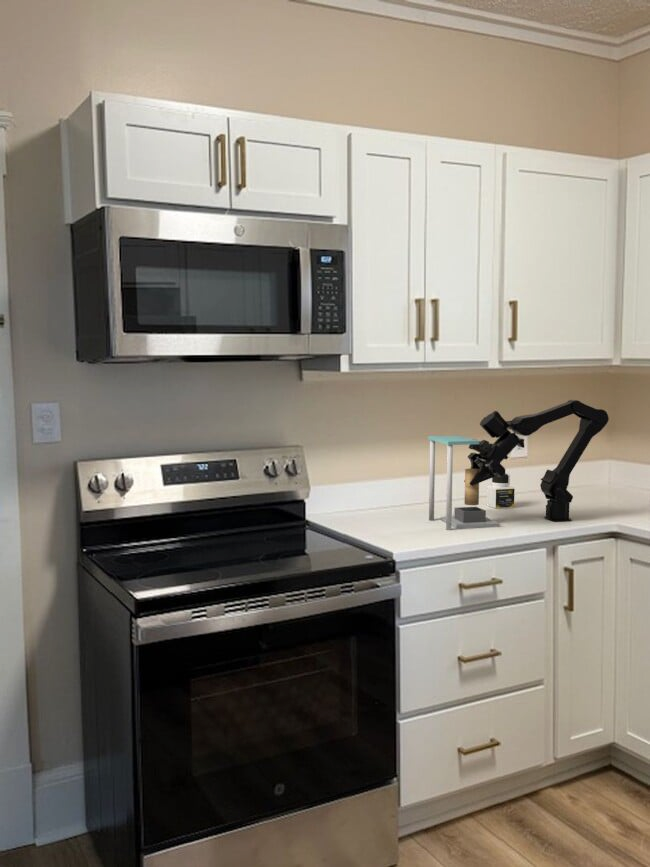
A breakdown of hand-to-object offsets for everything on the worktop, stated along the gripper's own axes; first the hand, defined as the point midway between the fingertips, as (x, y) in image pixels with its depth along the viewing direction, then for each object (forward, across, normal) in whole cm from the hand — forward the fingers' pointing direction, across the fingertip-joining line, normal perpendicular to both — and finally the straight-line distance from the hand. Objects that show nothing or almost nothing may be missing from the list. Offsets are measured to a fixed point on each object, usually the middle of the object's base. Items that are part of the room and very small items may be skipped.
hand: (467, 483), depth 273 cm
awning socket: (+10, 0, +8) cm, 13 cm away
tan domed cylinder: (+4, 0, +6) cm, 7 cm away
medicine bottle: (-6, -26, +25) cm, 36 cm away
